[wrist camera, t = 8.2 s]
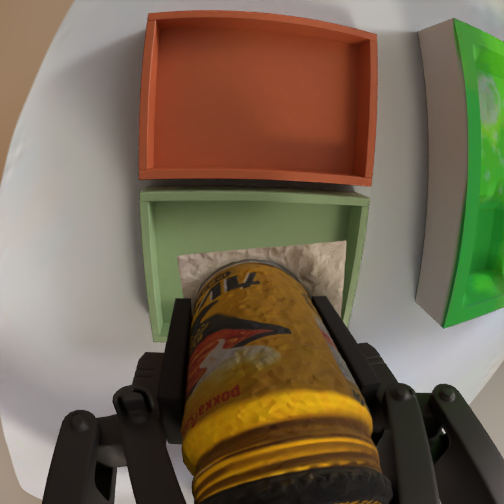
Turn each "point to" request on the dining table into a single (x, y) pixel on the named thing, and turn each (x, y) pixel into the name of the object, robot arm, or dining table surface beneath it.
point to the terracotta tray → (257, 98)
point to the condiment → (273, 383)
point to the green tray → (241, 232)
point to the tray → (463, 173)
